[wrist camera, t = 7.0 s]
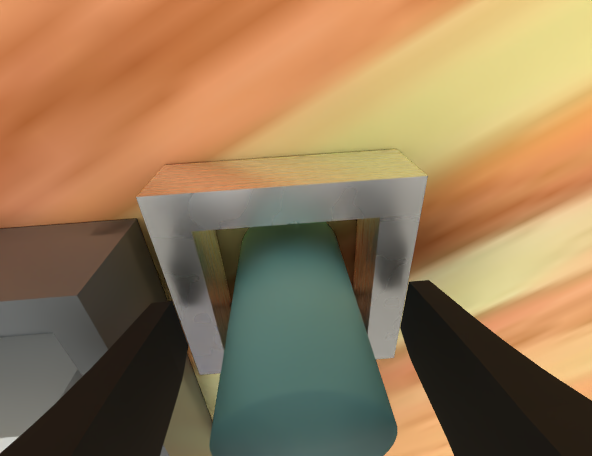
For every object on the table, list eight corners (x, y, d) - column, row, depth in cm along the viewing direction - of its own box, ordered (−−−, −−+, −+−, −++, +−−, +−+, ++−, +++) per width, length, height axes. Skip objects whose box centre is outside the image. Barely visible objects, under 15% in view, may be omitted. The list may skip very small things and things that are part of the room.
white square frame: (376, 311, 15) (393, 357, 12) (210, 325, 14) (199, 374, 12) (396, 148, 10) (428, 176, 8) (164, 165, 10) (136, 196, 8)
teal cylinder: (340, 282, 14) (393, 472, 8) (251, 295, 14) (234, 493, 8) (335, 202, 11) (401, 377, 5) (230, 217, 11) (183, 407, 6)
